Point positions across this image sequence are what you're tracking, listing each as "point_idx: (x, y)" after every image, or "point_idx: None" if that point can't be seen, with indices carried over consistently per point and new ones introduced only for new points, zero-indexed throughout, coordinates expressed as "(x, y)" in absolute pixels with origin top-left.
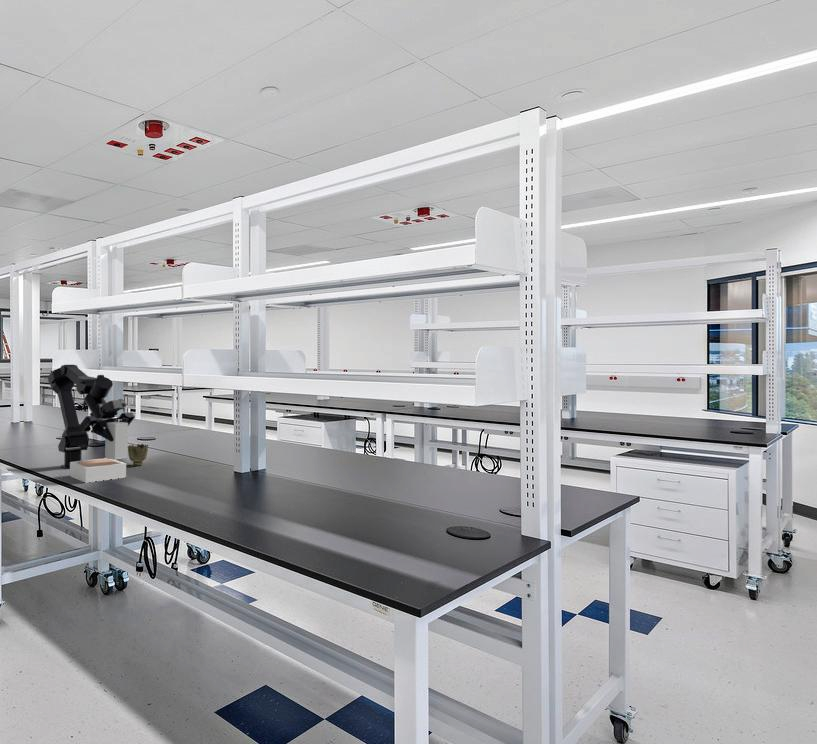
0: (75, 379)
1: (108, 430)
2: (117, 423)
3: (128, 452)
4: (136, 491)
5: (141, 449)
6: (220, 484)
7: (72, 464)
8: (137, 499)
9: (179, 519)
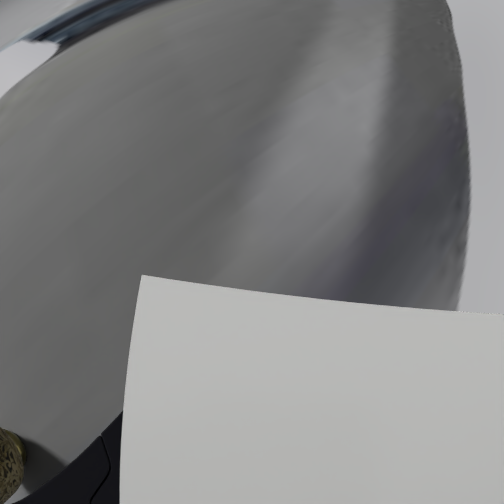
0: None
1: None
2: (461, 415)
3: (9, 496)
4: (396, 117)
5: None
6: (215, 3)
7: None
8: (435, 81)
9: (440, 6)
